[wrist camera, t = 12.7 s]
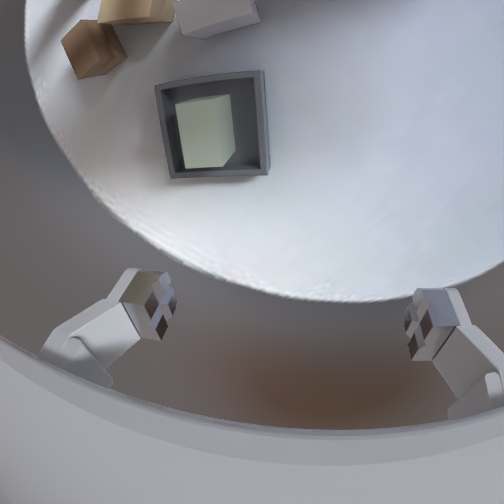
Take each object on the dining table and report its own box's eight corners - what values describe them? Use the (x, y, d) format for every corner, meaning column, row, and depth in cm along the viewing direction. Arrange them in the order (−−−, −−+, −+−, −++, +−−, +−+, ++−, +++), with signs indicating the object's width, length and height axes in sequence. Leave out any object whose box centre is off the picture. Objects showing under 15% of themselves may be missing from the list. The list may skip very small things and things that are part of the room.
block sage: (195, 97, 24) (175, 104, 21) (229, 93, 24) (214, 99, 20) (203, 152, 28) (185, 168, 24) (235, 150, 27) (222, 166, 23)
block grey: (202, 39, 21) (182, 34, 17) (193, 11, 19) (172, 3, 15) (261, 22, 19) (252, 12, 16) (252, -7, 18) (241, -21, 14)
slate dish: (165, 83, 24) (154, 85, 22) (263, 70, 22) (259, 70, 20) (179, 170, 30) (170, 178, 28) (270, 166, 28) (267, 175, 27)
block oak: (124, 25, 20) (97, 23, 16) (130, -2, 18) (103, -7, 14) (172, 22, 20) (149, 16, 16) (178, -6, 18) (156, -17, 14)
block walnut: (89, 38, 21) (60, 40, 17) (109, 21, 20) (81, 19, 16) (106, 74, 24) (78, 79, 20) (127, 57, 23) (100, 59, 19)
